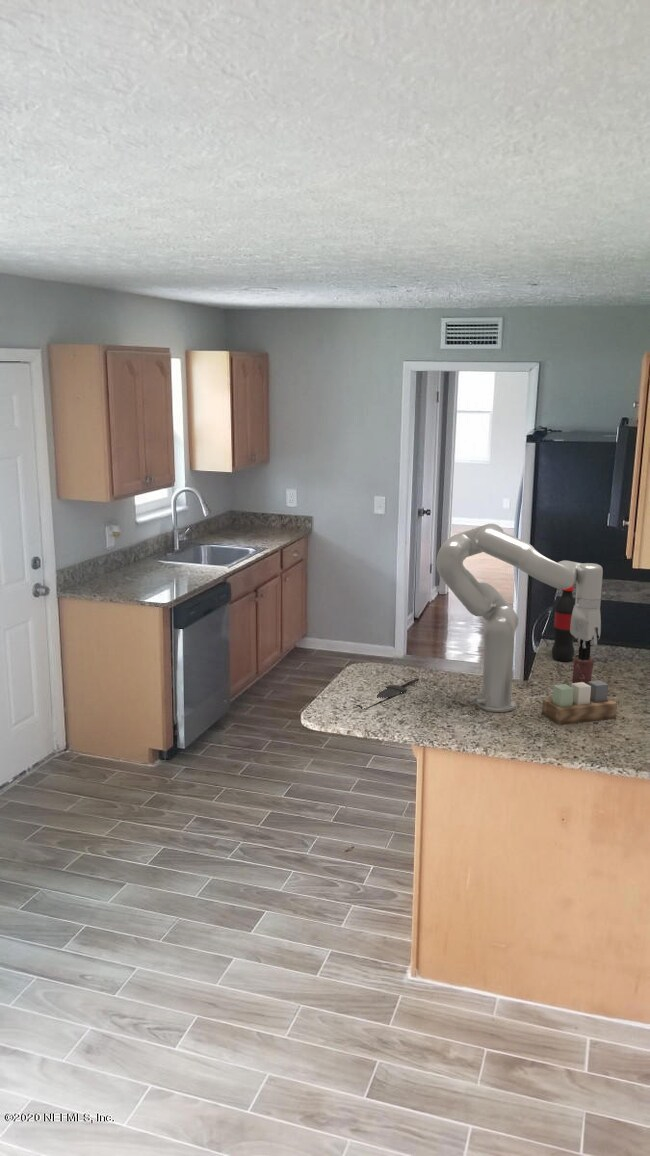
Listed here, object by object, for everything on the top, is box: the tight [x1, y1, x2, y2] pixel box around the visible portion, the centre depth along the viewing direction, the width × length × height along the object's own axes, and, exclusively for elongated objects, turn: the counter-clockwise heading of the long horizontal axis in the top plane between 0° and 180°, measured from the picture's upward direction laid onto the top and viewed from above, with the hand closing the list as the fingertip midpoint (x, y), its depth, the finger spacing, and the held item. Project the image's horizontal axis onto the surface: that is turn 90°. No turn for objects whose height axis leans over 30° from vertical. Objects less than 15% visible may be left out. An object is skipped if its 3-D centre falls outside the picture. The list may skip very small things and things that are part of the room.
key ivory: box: [570, 682, 591, 705], centre depth 281 cm, size 4×4×7 cm
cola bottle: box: [551, 585, 576, 662], centre depth 339 cm, size 8×8×30 cm
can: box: [571, 654, 594, 685], centre depth 300 cm, size 6×6×14 cm
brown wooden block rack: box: [541, 697, 618, 726], centre depth 282 cm, size 21×10×5 cm, turn 109°
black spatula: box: [377, 677, 420, 698], centre depth 300 cm, size 7×35×2 cm, turn 140°
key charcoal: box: [588, 679, 609, 703], centre depth 283 cm, size 4×4×7 cm
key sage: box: [552, 683, 574, 707], centre depth 279 cm, size 4×4×7 cm
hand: (583, 659), depth 279 cm, fingers closed
